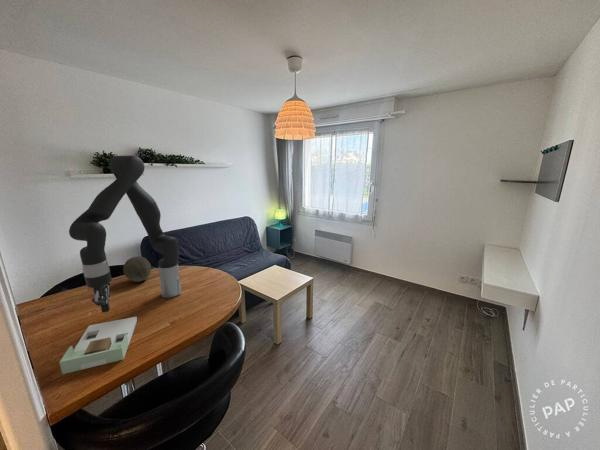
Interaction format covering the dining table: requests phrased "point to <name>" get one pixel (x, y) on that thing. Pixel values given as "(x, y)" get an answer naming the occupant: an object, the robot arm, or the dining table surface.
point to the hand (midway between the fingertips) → (106, 310)
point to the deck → (114, 329)
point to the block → (98, 346)
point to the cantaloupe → (137, 269)
